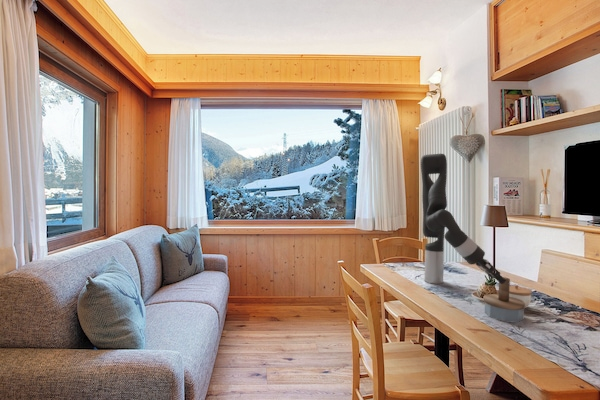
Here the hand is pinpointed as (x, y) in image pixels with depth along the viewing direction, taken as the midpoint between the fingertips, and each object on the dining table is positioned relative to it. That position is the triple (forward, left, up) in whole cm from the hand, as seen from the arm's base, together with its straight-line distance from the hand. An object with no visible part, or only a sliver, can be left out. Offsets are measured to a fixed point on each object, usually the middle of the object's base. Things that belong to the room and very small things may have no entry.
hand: (498, 279), depth 125 cm
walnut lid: (-1, +2, -9) cm, 10 cm away
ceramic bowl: (-2, +2, -14) cm, 15 cm away
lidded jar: (-17, +1, -15) cm, 22 cm away
